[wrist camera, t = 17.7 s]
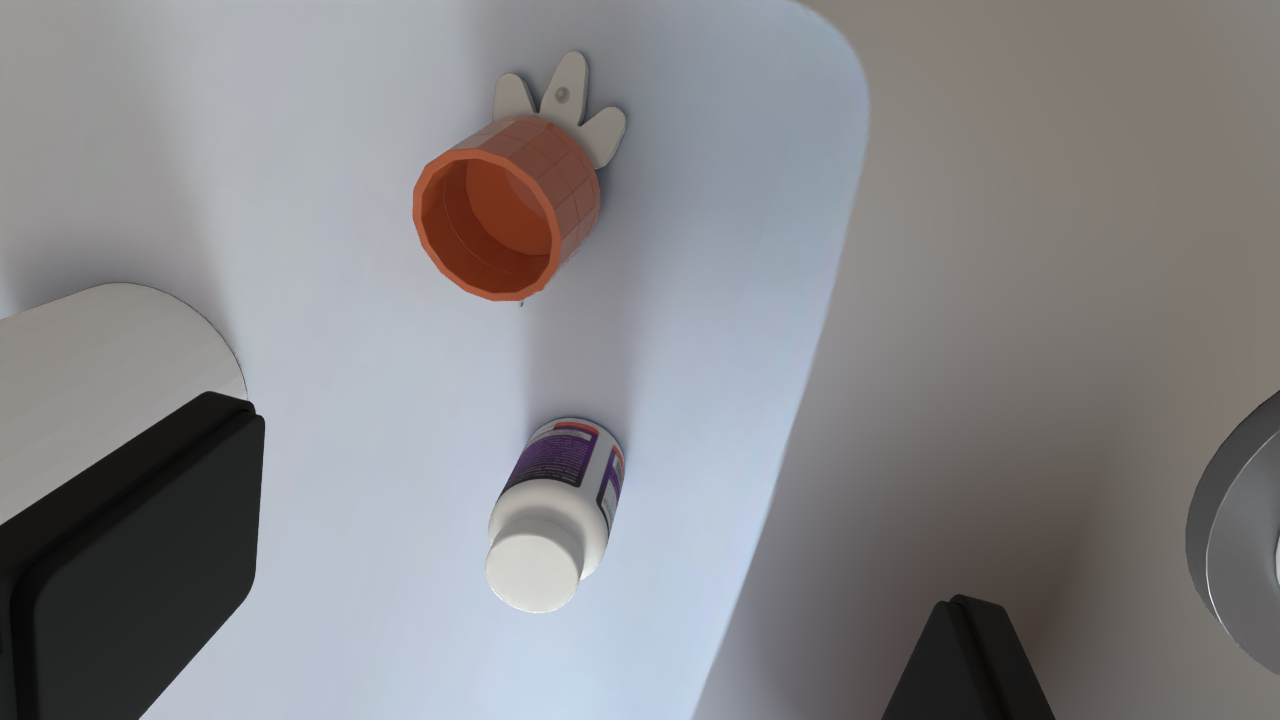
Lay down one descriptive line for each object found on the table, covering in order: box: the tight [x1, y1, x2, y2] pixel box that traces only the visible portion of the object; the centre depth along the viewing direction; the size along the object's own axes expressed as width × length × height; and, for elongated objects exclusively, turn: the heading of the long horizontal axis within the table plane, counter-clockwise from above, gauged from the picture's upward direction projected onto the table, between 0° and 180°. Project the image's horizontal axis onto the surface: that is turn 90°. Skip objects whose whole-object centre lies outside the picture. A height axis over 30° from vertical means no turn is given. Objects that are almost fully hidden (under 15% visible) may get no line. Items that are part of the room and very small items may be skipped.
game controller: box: [493, 51, 627, 307], centre depth 36 cm, size 6×12×3 cm, turn 2°
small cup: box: [413, 115, 601, 301], centre depth 34 cm, size 6×6×4 cm
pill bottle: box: [485, 418, 625, 613], centre depth 38 cm, size 5×5×10 cm
